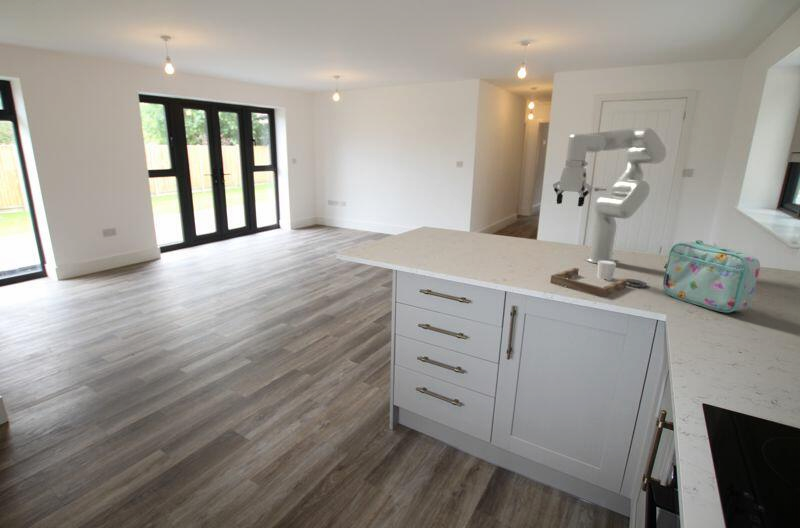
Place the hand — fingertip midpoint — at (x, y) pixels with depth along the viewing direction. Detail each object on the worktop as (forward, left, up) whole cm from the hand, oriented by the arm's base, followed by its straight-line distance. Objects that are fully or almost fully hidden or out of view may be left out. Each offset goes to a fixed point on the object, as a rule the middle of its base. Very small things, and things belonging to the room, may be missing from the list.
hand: (569, 204), depth 177 cm
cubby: (+15, +20, -28) cm, 38 cm away
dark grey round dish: (0, +31, -28) cm, 42 cm away
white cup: (+1, +20, -28) cm, 35 cm away
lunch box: (+3, +54, -29) cm, 61 cm away
